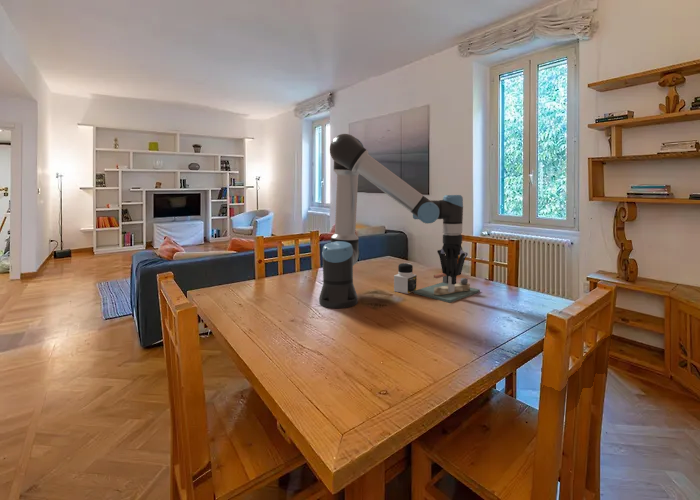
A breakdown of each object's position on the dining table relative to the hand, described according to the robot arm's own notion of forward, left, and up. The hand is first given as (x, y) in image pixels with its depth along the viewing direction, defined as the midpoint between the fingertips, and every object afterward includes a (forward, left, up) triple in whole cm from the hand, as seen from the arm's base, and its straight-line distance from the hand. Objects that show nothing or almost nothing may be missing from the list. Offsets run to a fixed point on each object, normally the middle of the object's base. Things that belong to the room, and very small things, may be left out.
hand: (451, 291), depth 155 cm
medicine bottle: (-17, +10, -3) cm, 20 cm away
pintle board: (0, +7, -2) cm, 7 cm away
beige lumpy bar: (+1, +3, -1) cm, 4 cm away
